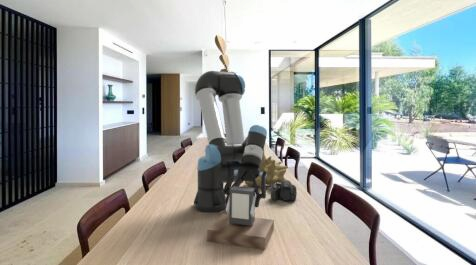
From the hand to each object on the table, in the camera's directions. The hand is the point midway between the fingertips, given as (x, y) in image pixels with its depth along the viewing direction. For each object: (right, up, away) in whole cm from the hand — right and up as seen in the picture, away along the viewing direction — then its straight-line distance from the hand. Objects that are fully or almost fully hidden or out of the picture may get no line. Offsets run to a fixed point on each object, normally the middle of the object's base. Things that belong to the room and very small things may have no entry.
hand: (239, 213), depth 104 cm
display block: (+1, -9, +4) cm, 10 cm away
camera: (+22, -6, +45) cm, 51 cm away
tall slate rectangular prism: (+1, -4, +3) cm, 5 cm away
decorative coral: (+16, -3, +70) cm, 72 cm away
